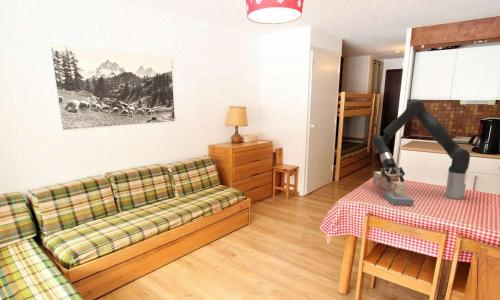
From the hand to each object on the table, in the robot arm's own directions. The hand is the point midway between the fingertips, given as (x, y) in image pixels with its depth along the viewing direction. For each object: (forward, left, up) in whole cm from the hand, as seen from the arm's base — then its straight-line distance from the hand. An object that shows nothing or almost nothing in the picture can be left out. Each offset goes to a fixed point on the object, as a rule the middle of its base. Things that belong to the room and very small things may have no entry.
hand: (396, 181), depth 177 cm
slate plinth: (0, +3, -12) cm, 12 cm away
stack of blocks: (-4, -27, -12) cm, 30 cm away
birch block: (0, +3, -8) cm, 8 cm away
